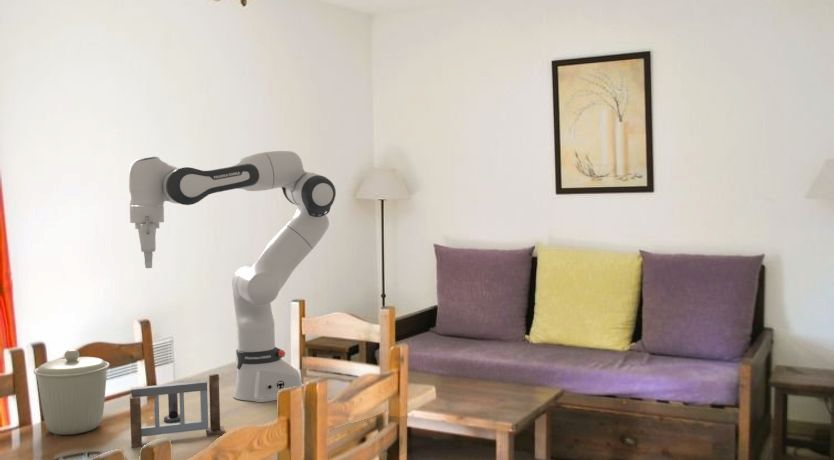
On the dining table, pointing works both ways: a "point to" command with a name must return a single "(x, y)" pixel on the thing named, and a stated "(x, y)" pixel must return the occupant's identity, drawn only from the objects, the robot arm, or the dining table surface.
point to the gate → (180, 389)
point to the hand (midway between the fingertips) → (148, 266)
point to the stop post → (172, 409)
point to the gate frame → (214, 413)
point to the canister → (72, 393)
